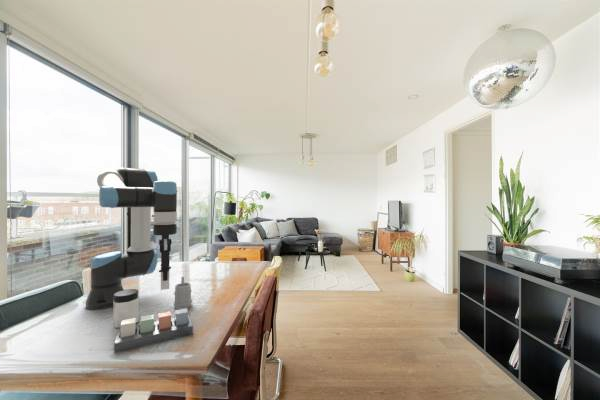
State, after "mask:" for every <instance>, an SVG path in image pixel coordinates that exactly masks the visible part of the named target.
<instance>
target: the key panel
mask: <svg viewBox="0 0 600 400" xmlns="http://www.w3.org/2000/svg"><path fill="white" fill-rule="evenodd" d="M193 328H194V327H193V322H192V319H191V316H190V314H188V323H187V324H182V325H178V326H176V324H175V316H174V317H171V327H169V328H164V329H159V320H154V331H150V332H145V333H141V334H140V323H139V324H136V333H135V335H132V336H127V337H122V338H121V327H119V328H118V330H117V334H116V337H115V341H114V343H113V344H114V346H113V347H114V351H113V352H114V354H115V353H120V352H123V351H124V352H125V351H129V350H132V349H136V348H141V347H145V346H149V345H150V346H151V345H154V344H159V343H162V342H167V341H171V340H174V339H178V338H179V339H180V338H183V337H187V336H191V335H193V333H194V332H193V330H194V329H193Z"/></svg>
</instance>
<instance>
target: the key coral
mask: <svg viewBox="0 0 600 400" xmlns="http://www.w3.org/2000/svg"><path fill="white" fill-rule="evenodd" d="M171 318H172V311H170V310H169V311H165V312H160V313H158V321H159V329H164V328H169V327H171Z"/></svg>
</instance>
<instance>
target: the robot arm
mask: <svg viewBox="0 0 600 400" xmlns="http://www.w3.org/2000/svg"><path fill="white" fill-rule="evenodd" d="M96 183H97V186H98V187H99V191H98V193H99V194H98V197H99V199H98V202H99V206H100V207H101V208H111V209H114V208H116V209H117V208H130V246H129V247H128V248H127V249H126V253H122V251H110V252H106V253H102V254H98V255H95V256H94V257H92V259H91V261H90V290H89V293H88V296H87V297H86V301H85V309H87V310H100V309H107V308H112V307H113V300H114V294H115V293H116V292H119V291H122V290H125V289H124V287H123V285H122V281H123V280H122V279H125V278H134V277H138V276H139V277H140V276H145V275H150V274H153V273H154V272H155V271H156V268H157V265H158V251H157V250H155V248H154V247H153V245H151V234H152V233H153V235H154V236H161V238H160V239H158V245H159V253H160V258H161V259H160V269H158V273H160V291H163V290H165V291H166V290H169V289H170V269H171V268H172V267H171V266H170V252H171V251H172V250H171V245H172V238H170V236H171V235H176V234H177V233H178V232H177V231H178V230H177V227H178V225H177V222H178V211H177V207H178V206H177V205H178V202H177V201H178V189H177V188H178V186H177V183H176V181H172V180H171V181H169V180H158V175H157V173H156V172H155V171H154V170H152V169H147V168H131V167H112V168H108V169H106V170H103V171H101V172H100V173H99V174H98V176H97V178H96ZM152 208H153V214H152V210H151V209H152ZM151 218H153V223H154V224H153V226H152V227H153V228H152V229H153V230H152V231H153V232H152V233H151V223H152V222H151V221H152V220H151Z"/></svg>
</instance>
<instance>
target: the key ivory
mask: <svg viewBox="0 0 600 400" xmlns="http://www.w3.org/2000/svg"><path fill="white" fill-rule="evenodd" d="M136 325H137V322H136V318H132V319H126V320H122V322H121V327H120V328H121V338H122V337H127V336H132V335H135V333H136Z"/></svg>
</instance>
